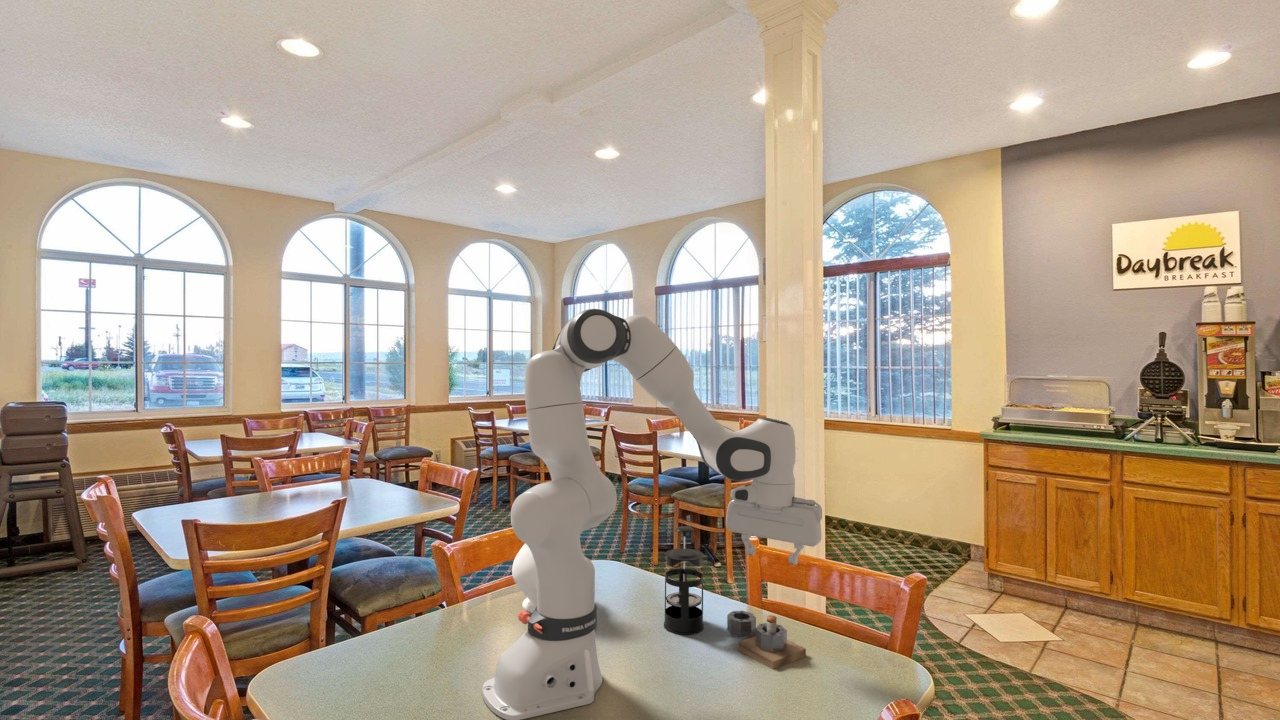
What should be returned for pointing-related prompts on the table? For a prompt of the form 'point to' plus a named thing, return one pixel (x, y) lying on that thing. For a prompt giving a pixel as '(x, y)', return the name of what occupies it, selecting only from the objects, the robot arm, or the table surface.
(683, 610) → the french press
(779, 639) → the grey octagonal nut
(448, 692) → the table surface
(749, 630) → the grey octagonal ring
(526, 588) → the decorative vase
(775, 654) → the keeper
